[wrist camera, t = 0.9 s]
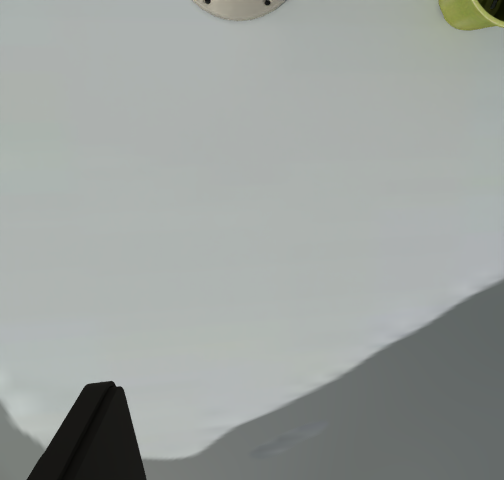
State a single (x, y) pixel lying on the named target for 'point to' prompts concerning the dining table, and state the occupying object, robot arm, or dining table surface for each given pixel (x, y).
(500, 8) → the plant pot
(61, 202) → the dining table surface
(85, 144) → the dining table surface
